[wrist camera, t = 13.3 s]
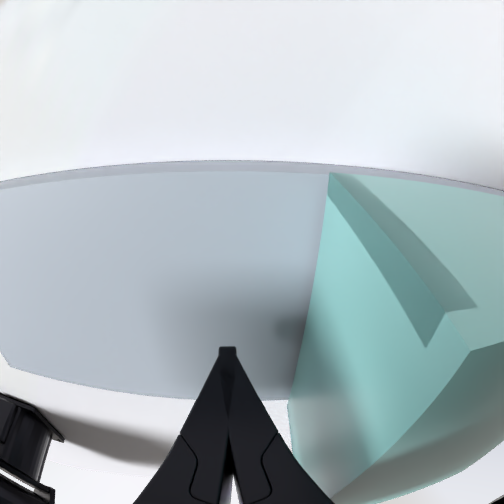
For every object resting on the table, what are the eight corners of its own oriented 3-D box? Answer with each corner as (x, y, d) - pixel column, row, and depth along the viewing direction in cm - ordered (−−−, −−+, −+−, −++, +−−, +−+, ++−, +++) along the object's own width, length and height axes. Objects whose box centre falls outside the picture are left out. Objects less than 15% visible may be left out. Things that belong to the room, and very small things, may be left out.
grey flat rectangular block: (430, 361, 14) (447, 396, 12) (18, 353, 13) (1, 385, 11) (505, 191, 9) (546, 219, 7) (-51, 193, 8) (-87, 219, 6)
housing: (427, 385, 13) (461, 471, 8) (287, 406, 13) (299, 518, 8) (517, 199, 8) (621, 289, 3) (329, 172, 7) (470, 349, 2)
